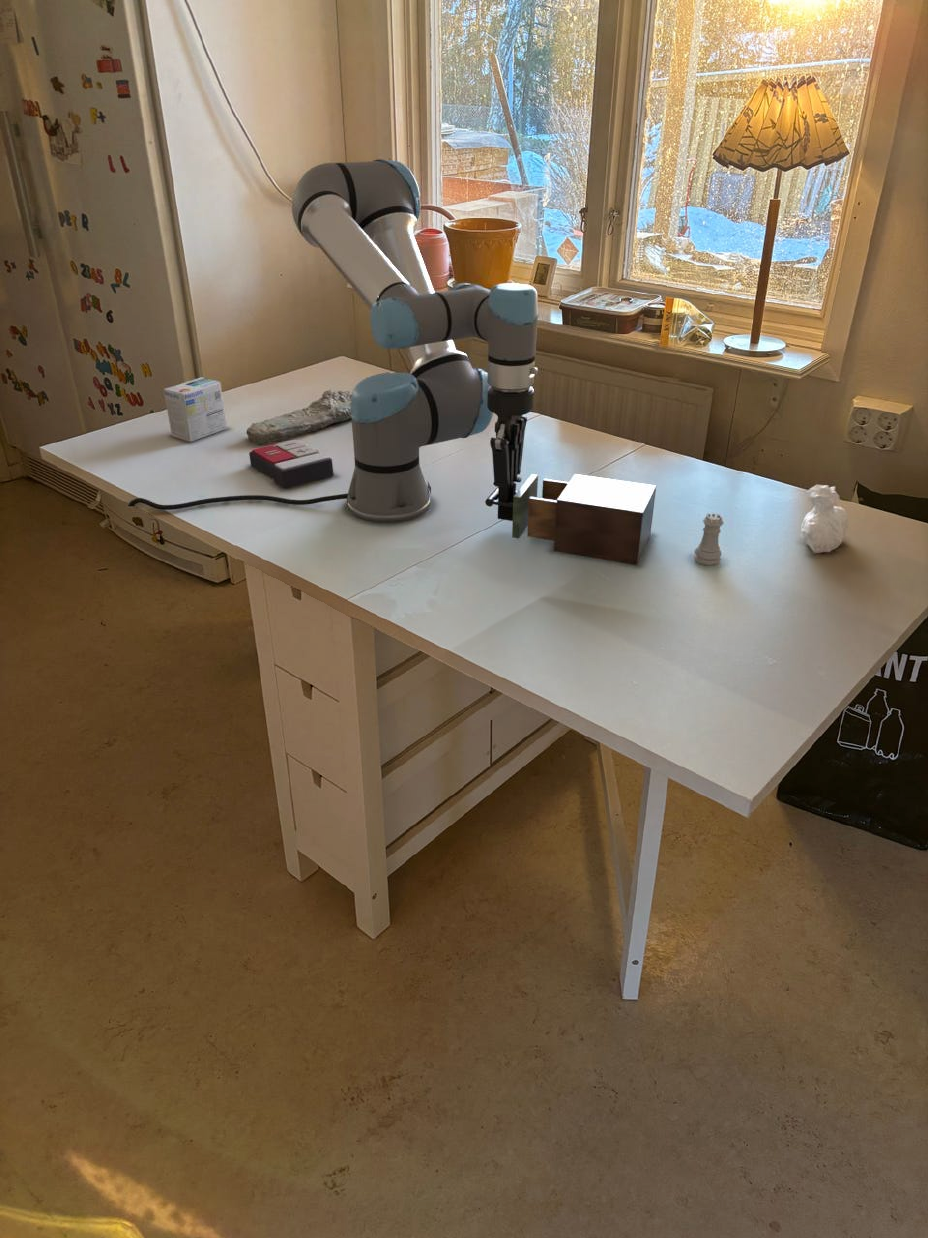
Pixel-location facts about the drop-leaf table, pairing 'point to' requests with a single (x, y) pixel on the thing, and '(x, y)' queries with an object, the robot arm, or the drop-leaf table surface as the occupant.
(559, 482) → the drawer
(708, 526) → the rook chess piece
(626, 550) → the cabinet
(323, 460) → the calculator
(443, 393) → the robot arm
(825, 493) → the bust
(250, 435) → the long grey stone
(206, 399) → the light bulb box
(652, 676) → the drop-leaf table surface
